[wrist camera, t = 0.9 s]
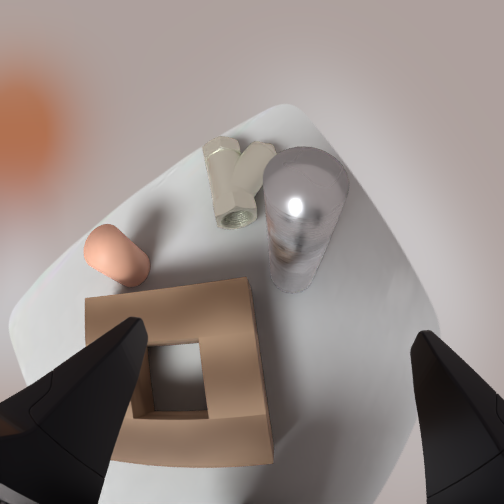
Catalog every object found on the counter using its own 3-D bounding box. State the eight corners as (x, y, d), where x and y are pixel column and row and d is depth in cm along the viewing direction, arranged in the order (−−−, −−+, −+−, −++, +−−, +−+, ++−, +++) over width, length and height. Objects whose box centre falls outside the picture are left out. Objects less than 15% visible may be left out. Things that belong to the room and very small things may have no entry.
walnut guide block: (273, 446, 19) (273, 463, 15) (124, 447, 19) (100, 458, 15) (251, 290, 23) (246, 276, 20) (109, 308, 24) (85, 298, 20)
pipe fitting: (270, 152, 29) (206, 164, 28) (272, 126, 25) (200, 138, 25) (293, 218, 26) (219, 233, 26) (299, 195, 23) (214, 211, 22)
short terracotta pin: (150, 284, 24) (120, 264, 19) (116, 289, 24) (82, 271, 19) (149, 246, 26) (122, 220, 20) (116, 252, 26) (86, 228, 21)
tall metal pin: (318, 289, 23) (359, 211, 11) (273, 296, 23) (270, 224, 11) (309, 248, 24) (335, 143, 12) (267, 254, 24) (257, 152, 12)
